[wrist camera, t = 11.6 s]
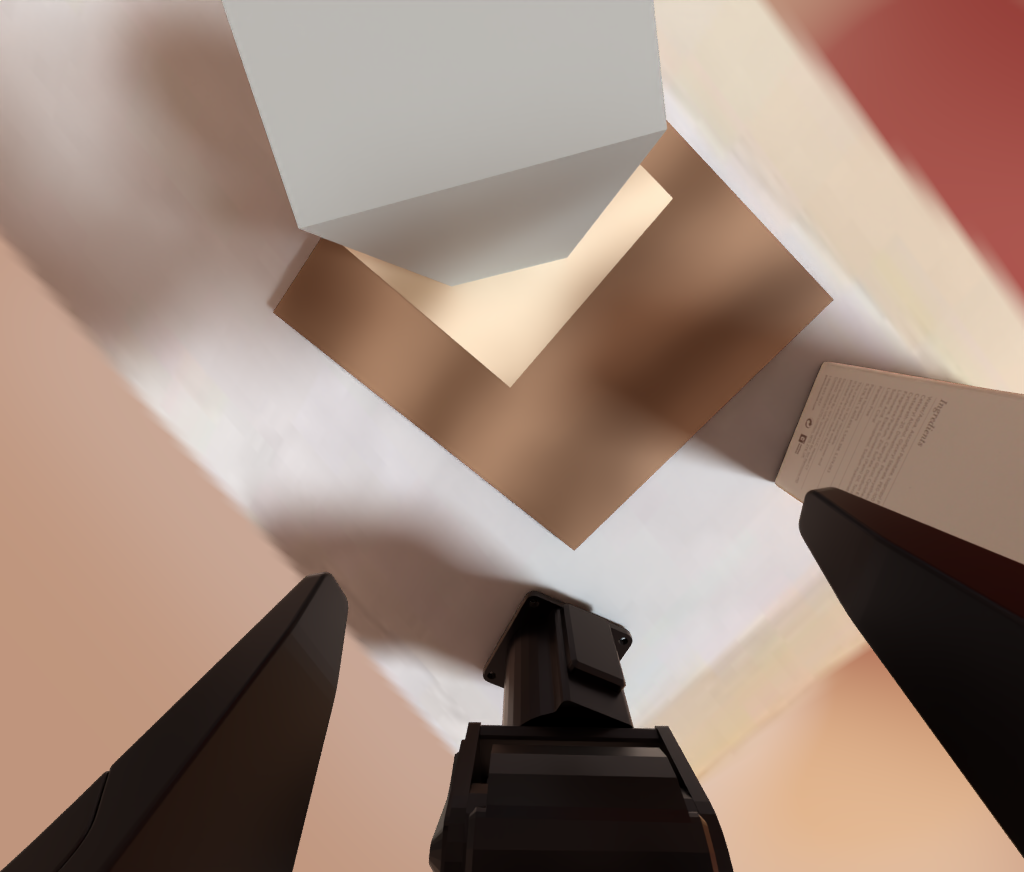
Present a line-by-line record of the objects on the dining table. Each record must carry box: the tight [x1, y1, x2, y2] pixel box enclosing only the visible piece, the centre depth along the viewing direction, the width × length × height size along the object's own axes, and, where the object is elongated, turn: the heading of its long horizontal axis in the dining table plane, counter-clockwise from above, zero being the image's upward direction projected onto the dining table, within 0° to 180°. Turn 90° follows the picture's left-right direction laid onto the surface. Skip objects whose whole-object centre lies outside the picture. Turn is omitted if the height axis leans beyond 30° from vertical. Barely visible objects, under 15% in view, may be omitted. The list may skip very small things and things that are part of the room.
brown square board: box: [273, 120, 833, 550], centre depth 18 cm, size 18×16×1 cm
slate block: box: [221, 0, 667, 286], centre depth 11 cm, size 4×5×12 cm
